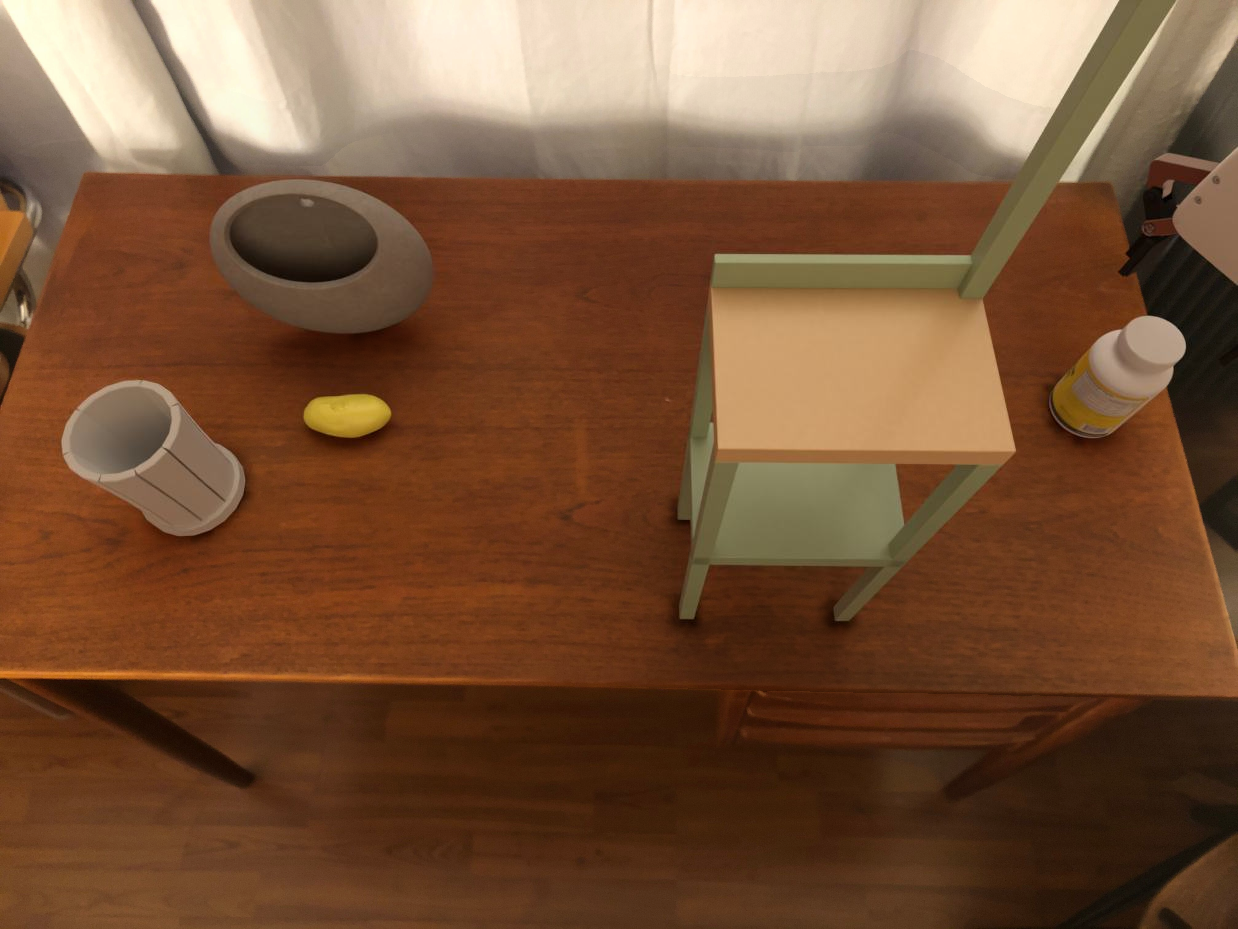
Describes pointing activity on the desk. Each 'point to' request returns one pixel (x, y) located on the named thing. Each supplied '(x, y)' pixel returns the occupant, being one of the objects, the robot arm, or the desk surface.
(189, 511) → the cup
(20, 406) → the desk surface
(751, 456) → the mint side table
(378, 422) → the yellow potato
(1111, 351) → the pill bottle
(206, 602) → the desk surface
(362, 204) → the planter
